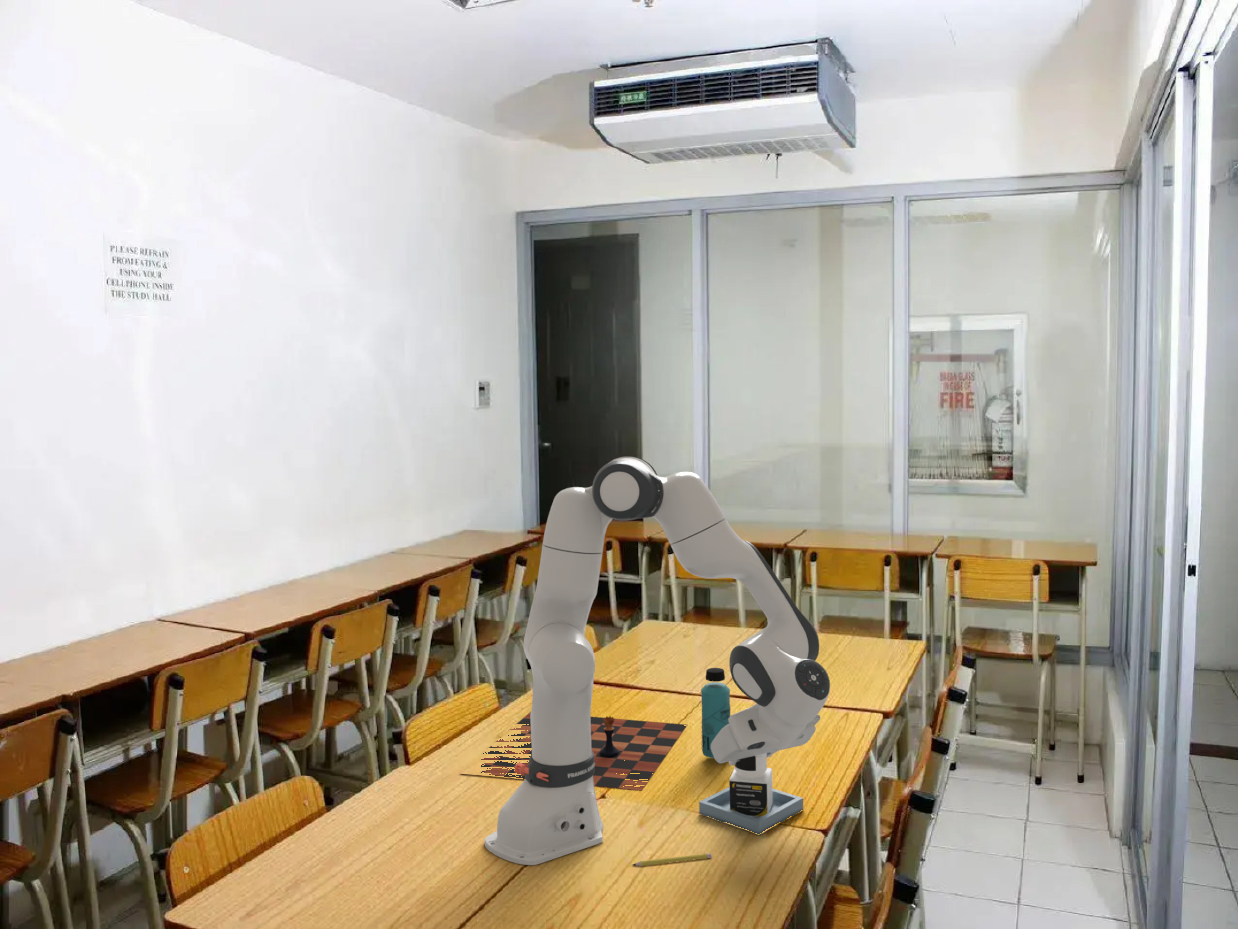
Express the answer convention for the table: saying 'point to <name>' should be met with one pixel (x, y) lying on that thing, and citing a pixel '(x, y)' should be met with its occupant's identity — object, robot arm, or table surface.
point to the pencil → (672, 859)
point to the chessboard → (609, 750)
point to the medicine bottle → (751, 787)
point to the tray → (779, 812)
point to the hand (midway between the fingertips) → (748, 758)
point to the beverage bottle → (714, 708)
